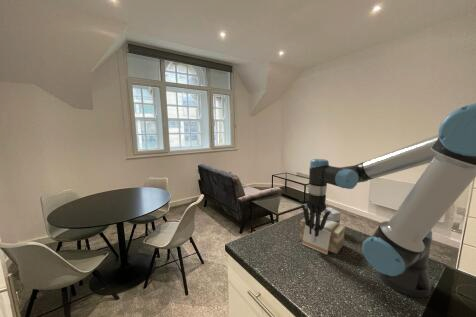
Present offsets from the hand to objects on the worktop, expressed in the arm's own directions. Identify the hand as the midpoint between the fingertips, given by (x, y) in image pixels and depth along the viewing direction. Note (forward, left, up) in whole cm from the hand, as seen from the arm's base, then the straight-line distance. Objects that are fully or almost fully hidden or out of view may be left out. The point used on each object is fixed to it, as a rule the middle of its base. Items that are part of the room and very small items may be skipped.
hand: (313, 241), depth 91 cm
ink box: (+1, -25, -4) cm, 26 cm away
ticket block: (0, -9, -4) cm, 10 cm away
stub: (0, -3, +1) cm, 3 cm away
